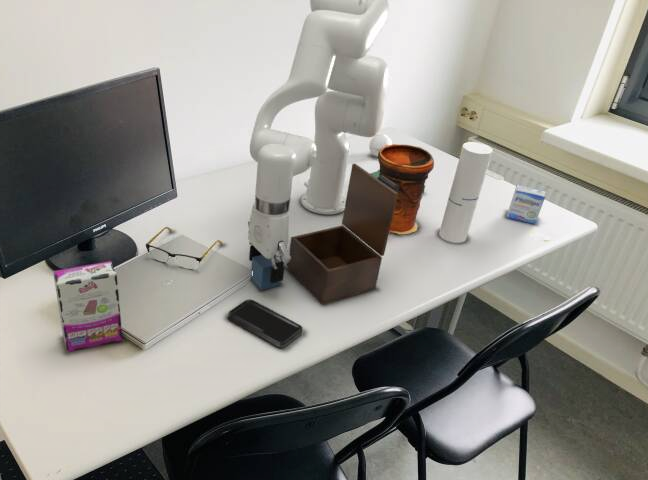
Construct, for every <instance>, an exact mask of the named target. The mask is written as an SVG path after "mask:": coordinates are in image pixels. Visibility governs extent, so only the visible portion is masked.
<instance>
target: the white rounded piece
mask: <svg viewBox="0 0 648 480" xmlns="http://www.w3.org/2000/svg"><path fill="white" fill-rule="evenodd" d="M392 144H393V141H392V139H391V138H390V137H389V136H388V135H387V134H384V133H377V134H376V135H375V136H373V137H371V139H370V141H369V145H368V147H369V151H370V154H372V155H373V156H374V157H376V158H378V153H379V151H380V149H381V148H382V147H384V146H386V145H392Z"/></svg>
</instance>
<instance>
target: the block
mask: <svg viewBox="0 0 648 480" xmlns="http://www.w3.org/2000/svg"><path fill="white" fill-rule="evenodd" d="M275 258H276V261H277V263H278V262H280V261H281V260H280V259H278V257H275ZM271 267H273V264H272V261H271V258H270V259H267V258H266V257H264V256H263V255H259V256H255V257H252V261H251V268H250V271H251V270H252V271H253V276H252V277H251V276H250V280H251V281H252V282H253V283H254V284H255V286H257V288H258V289H259V290H260V291H263V290H268V289H271V288H274V287H278V286H281V281H279V282H275V283H271V282H270V274H271Z"/></svg>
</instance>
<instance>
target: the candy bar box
mask: <svg viewBox="0 0 648 480" xmlns="http://www.w3.org/2000/svg"><path fill="white" fill-rule="evenodd" d="M52 275H53V280H54V286H55V292H56V300H57V306H58V312H59V318H60V324H61V325H60V326H61V330H62V338H63V341H64V345H65V349H66V352H67V353H71V352H72V353H73V352H75V351H80V350H85V349H90V348H94V347H99V346H102V345H107V344H108V345H109V344H112V343H117V342H122V341H123V328H122V327H123V326H122V318H121V317H122V316H121V306H120V295H119V293H120V291H119V285H118V274H117V272H116V269H115V268H114V266H113V263H112V261H104V262H99V263H93V264H85V265H81V266H76V267H75V266H74V267H70V268H65V269H59V270H54V271H53V272H52Z"/></svg>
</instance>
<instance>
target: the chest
mask: <svg viewBox="0 0 648 480" xmlns="http://www.w3.org/2000/svg"><path fill="white" fill-rule="evenodd" d="M288 252H289V254H290V256H291V260H290V262H289V264H288V265H287V270H288V271H289V272H290V273H291V274H292V275H293V276H294V277H295V278H297V280H298V281H300V283H301V284H302V285H304V287H305V288H306V289H307V290H308V291H309V292H310V293H311V294H312V295H313V296H314V297H315V298H316V299H317V300H318V301H319V302H320V303H321V304H322V305H326V304H328V303H332V302H337V301H340V300H343V299H348V298H350V297H354V296H357V295H361V294H364V293H368V292H372V291H375V290H376V289H377V284H378V279H379V273H380V269H381V265H382V261H383V256H381V255H379V254H378V253H377V252H376V251H374V250H373V249H372V248H371V247H370V246H368V245H367V244H366V243H365V242H363V241H362V240H361V239H360V238H359V237H357V236H356V235H355V234H354V233H352V232H351V231H350V230H349V229H348V228H346V227H345V226H344V225H343V224H342V225H338V226H337V225H336V226H333V227H329V228H326V229H325V228H324V229H321V230H320V229H319V230H317V231H311V232H307V233H304V234H299V235H295V236H290V244H289V251H288Z"/></svg>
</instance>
